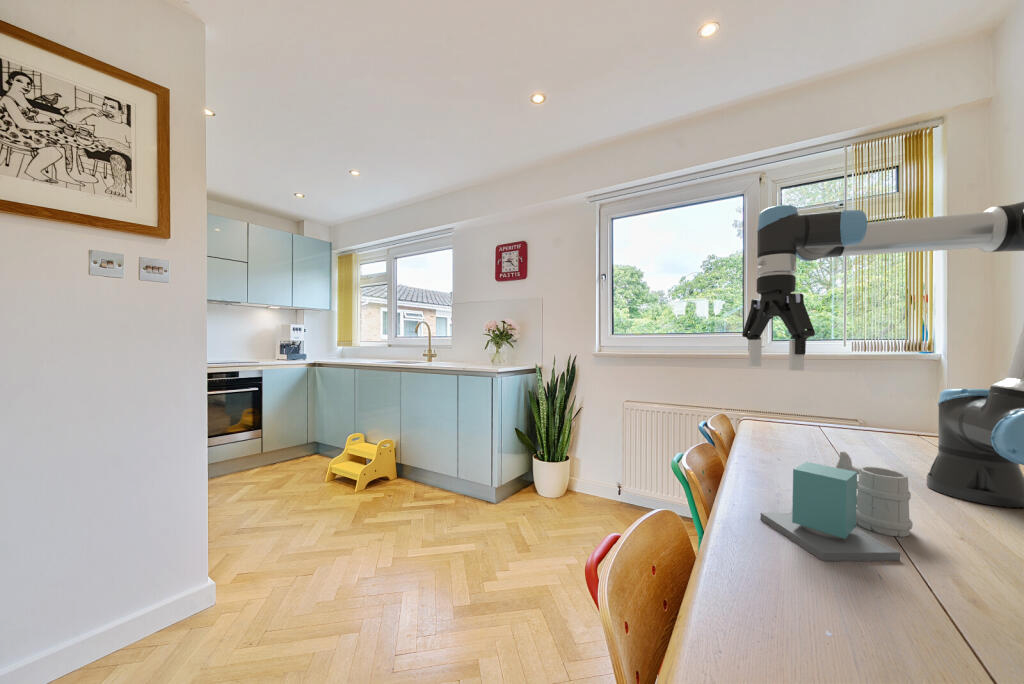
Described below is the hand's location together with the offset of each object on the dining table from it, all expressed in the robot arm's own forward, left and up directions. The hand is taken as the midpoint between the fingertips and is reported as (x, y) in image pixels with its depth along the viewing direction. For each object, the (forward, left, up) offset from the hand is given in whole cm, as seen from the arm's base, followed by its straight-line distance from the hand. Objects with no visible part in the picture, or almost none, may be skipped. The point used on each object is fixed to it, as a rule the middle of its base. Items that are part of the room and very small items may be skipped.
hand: (774, 368), depth 92 cm
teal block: (+9, +25, -24) cm, 36 cm away
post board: (+9, +25, -27) cm, 38 cm away
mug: (-4, +20, -27) cm, 33 cm away
